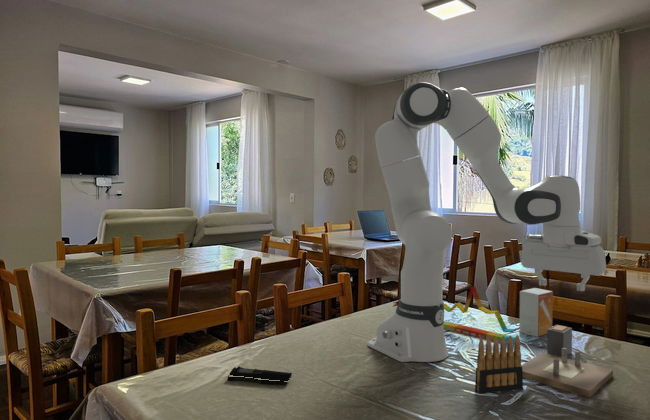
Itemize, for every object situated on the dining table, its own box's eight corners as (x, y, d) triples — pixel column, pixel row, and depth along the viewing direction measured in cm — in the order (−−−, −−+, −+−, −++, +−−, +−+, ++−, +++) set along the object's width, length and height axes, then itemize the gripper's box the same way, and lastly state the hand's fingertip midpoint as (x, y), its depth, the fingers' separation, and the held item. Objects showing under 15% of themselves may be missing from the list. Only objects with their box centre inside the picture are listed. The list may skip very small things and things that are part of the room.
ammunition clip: (518, 385, 100) (518, 333, 99) (523, 389, 98) (523, 335, 98) (474, 390, 98) (475, 336, 97) (479, 393, 96) (479, 339, 96)
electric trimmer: (288, 389, 100) (288, 376, 100) (226, 382, 104) (226, 368, 104) (294, 383, 103) (294, 369, 103) (233, 375, 107) (233, 363, 107)
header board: (515, 375, 105) (515, 354, 105) (542, 357, 116) (542, 339, 116) (589, 397, 94) (590, 374, 93) (612, 376, 104) (613, 355, 104)
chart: (420, 324, 147) (420, 279, 147) (425, 322, 150) (425, 278, 149) (511, 346, 126) (511, 294, 125) (515, 343, 128) (516, 292, 127)
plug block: (547, 355, 118) (547, 328, 118) (556, 349, 122) (556, 323, 122) (563, 359, 115) (563, 331, 115) (571, 353, 119) (572, 326, 119)
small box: (538, 337, 132) (538, 294, 132) (518, 332, 137) (519, 290, 137) (553, 332, 137) (553, 291, 136) (533, 327, 142) (534, 287, 141)
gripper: (517, 235, 123) (517, 284, 124) (600, 239, 108) (600, 296, 108) (526, 233, 127) (527, 280, 128) (608, 237, 112) (608, 291, 113)
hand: (561, 287), depth 118 cm, fingers open, 8 cm apart
